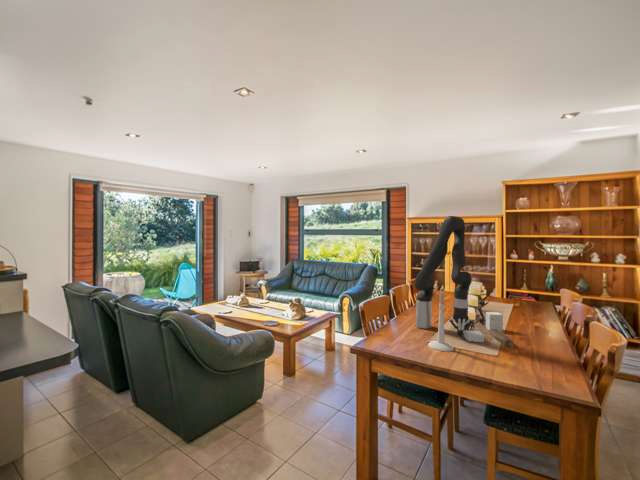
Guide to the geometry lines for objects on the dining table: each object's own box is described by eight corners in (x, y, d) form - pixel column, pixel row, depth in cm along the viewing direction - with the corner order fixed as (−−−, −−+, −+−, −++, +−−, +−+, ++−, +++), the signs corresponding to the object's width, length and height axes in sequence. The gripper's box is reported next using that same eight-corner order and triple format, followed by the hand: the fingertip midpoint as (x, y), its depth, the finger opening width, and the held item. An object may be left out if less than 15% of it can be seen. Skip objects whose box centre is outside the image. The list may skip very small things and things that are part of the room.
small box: (498, 328, 198) (499, 312, 197) (502, 331, 192) (503, 314, 192) (485, 328, 198) (485, 311, 198) (489, 331, 193) (489, 314, 192)
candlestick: (442, 353, 157) (443, 294, 156) (423, 345, 168) (423, 290, 167) (459, 349, 163) (460, 292, 162) (439, 341, 174) (440, 288, 173)
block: (469, 341, 174) (469, 334, 174) (464, 337, 182) (464, 330, 182) (484, 342, 173) (484, 335, 173) (478, 337, 181) (478, 331, 181)
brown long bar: (505, 346, 166) (505, 340, 166) (489, 334, 186) (489, 328, 186) (513, 347, 166) (513, 340, 166) (496, 334, 186) (496, 329, 185)
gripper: (450, 307, 175) (450, 337, 176) (475, 308, 173) (474, 338, 174) (446, 304, 183) (446, 333, 183) (470, 305, 181) (470, 334, 181)
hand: (460, 336), depth 178 cm, fingers closed
